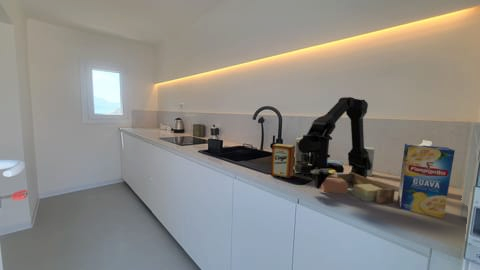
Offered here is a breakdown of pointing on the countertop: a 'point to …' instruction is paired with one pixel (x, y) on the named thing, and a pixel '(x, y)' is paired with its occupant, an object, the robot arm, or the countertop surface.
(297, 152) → the grey drink carton
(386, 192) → the shelf wall
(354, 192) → the pale green block
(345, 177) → the bookend
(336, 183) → the reddish brown block
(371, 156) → the skincare box
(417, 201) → the beverage box
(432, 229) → the countertop surface
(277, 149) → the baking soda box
